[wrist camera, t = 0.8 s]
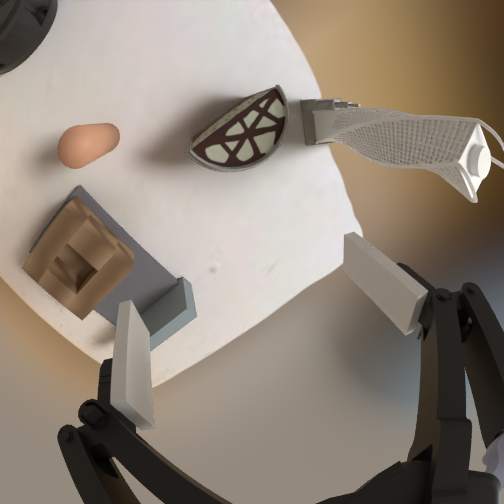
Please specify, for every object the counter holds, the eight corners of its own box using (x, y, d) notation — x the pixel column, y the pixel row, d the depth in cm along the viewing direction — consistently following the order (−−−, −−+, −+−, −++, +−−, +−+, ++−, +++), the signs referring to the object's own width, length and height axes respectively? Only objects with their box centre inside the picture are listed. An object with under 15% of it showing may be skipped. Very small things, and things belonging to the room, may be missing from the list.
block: (34, 251, 31) (21, 268, 27) (76, 195, 30) (64, 207, 26) (88, 300, 38) (82, 320, 33) (135, 253, 37) (131, 271, 32)
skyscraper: (347, 98, 36) (515, 120, 12) (351, 146, 40) (508, 204, 16) (299, 100, 34) (480, 109, 11) (305, 152, 38) (471, 222, 15)
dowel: (86, 138, 28) (50, 148, 18) (107, 117, 28) (78, 116, 18) (104, 158, 31) (75, 177, 20) (125, 137, 30) (104, 146, 20)
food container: (210, 179, 36) (224, 199, 28) (182, 146, 33) (185, 155, 25) (280, 125, 35) (314, 129, 27) (255, 90, 32) (283, 83, 24)
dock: (28, 253, 32) (8, 280, 25) (84, 179, 31) (65, 195, 24) (128, 335, 44) (126, 369, 37) (191, 284, 43) (197, 316, 36)
